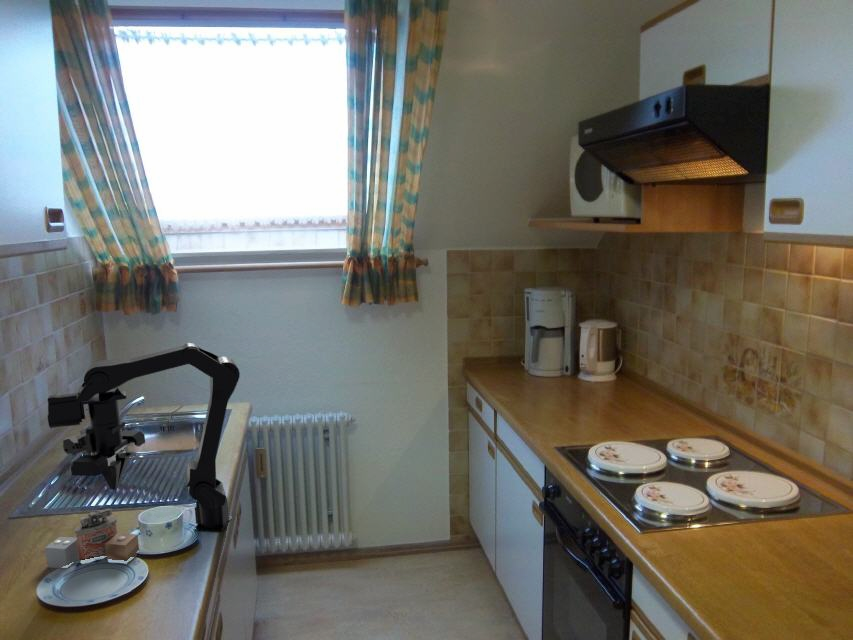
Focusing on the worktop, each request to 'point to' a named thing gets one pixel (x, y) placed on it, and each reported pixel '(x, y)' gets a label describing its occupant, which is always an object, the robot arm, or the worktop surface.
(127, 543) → the walnut block
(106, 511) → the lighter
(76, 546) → the grey block
